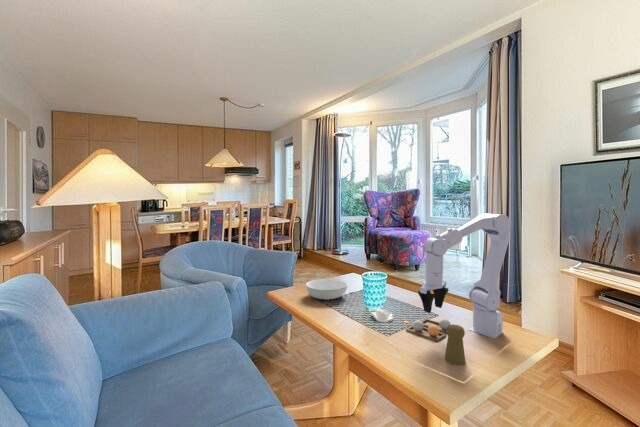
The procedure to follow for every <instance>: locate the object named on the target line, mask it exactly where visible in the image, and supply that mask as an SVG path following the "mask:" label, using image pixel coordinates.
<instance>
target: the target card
mask: <svg viewBox="0 0 640 427" xmlns="http://www.w3.org/2000/svg"><path fill="white" fill-rule="evenodd" d="M402 323H404V324H409V323H410V321H408V320H404V321H402ZM411 326H413V323H412V324H411Z"/></svg>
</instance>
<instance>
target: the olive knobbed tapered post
mask: <svg viewBox="0 0 640 427" xmlns="http://www.w3.org/2000/svg"><path fill="white" fill-rule="evenodd" d="M446 333H447V334H446V336H447V340H446V348H445V354H444V361H445V362H447V363H448V364H451V365H454V366H462V365H465V364H466V357H465V347H464V339H463V338H464V337H465V329H464V327H462V326H461V325H460V324H451V325H449V326H448V327H447V329H446Z"/></svg>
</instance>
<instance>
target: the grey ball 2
mask: <svg viewBox="0 0 640 427" xmlns="http://www.w3.org/2000/svg"><path fill="white" fill-rule="evenodd" d="M438 322H439V325H440V327H441V329H443V330H446V329H447V327H448V326H449V325H452V324H451V321H449V319H446V318H441V320H439V321H438Z"/></svg>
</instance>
